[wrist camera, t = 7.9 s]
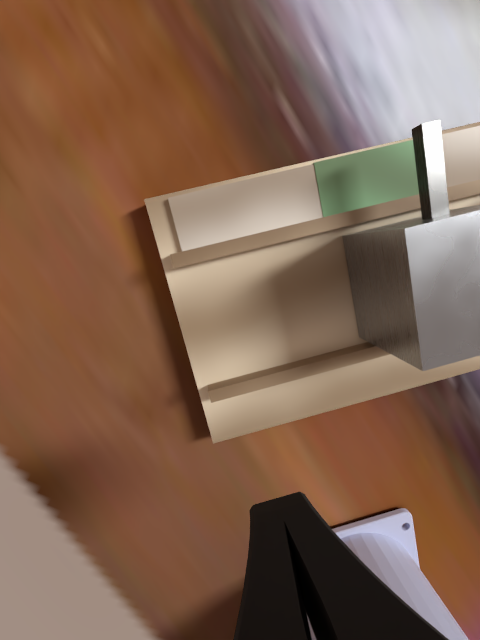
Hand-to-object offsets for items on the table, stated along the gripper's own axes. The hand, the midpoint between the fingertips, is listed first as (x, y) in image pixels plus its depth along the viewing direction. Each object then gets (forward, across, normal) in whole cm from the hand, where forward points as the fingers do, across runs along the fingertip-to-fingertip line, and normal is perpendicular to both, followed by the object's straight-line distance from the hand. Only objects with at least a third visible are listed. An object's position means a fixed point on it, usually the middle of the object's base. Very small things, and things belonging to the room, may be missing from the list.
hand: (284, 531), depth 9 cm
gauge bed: (+10, -9, -4) cm, 14 cm away
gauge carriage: (+8, -9, -6) cm, 13 cm away
